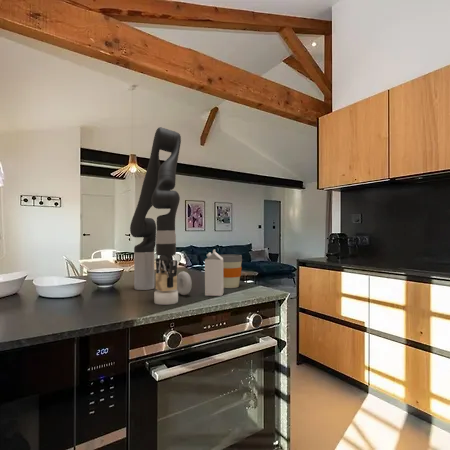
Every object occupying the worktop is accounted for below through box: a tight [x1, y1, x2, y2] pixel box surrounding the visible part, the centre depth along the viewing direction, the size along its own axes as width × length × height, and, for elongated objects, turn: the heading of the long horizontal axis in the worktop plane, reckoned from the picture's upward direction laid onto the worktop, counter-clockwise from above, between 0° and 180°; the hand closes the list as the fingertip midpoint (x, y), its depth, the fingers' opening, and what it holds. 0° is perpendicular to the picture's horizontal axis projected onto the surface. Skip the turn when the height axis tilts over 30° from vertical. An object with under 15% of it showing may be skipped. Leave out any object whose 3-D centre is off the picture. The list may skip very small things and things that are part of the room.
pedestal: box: [153, 289, 179, 305], centre depth 130 cm, size 9×9×4 cm
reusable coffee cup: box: [219, 253, 243, 289], centre depth 164 cm, size 13×13×15 cm
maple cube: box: [155, 272, 178, 291], centre depth 130 cm, size 6×6×6 cm
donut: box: [177, 270, 193, 296], centre depth 144 cm, size 10×4×10 cm, turn 39°
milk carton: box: [204, 249, 225, 297], centre depth 145 cm, size 7×7×19 cm
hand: (166, 286), depth 130 cm, fingers closed on maple cube, 6 cm apart
